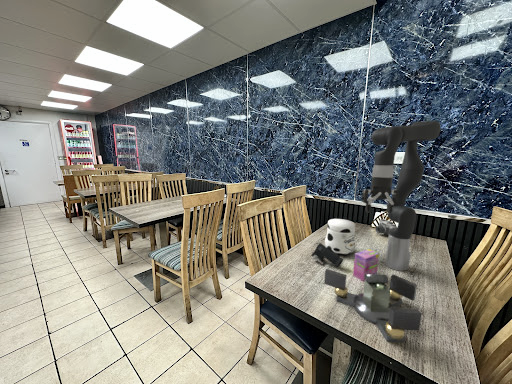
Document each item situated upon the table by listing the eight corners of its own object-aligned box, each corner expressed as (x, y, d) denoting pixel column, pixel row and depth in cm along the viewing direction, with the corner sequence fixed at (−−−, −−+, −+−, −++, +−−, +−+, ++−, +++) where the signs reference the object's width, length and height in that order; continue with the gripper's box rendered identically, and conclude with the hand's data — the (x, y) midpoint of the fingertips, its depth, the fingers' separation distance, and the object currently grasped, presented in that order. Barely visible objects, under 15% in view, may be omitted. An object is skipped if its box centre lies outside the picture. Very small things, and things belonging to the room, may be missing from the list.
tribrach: (394, 296, 83) (398, 265, 80) (437, 344, 61) (445, 304, 59) (332, 293, 84) (335, 262, 82) (354, 339, 63) (357, 300, 61)
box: (363, 281, 92) (365, 258, 90) (352, 275, 97) (354, 253, 95) (377, 275, 97) (379, 253, 95) (366, 269, 102) (368, 248, 100)
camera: (370, 229, 158) (371, 217, 156) (383, 229, 158) (384, 217, 156) (382, 237, 142) (384, 224, 141) (396, 237, 142) (398, 224, 141)
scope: (331, 274, 102) (341, 259, 99) (309, 255, 110) (318, 241, 107) (337, 270, 108) (346, 256, 105) (316, 252, 116) (324, 239, 113)
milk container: (356, 259, 113) (359, 229, 109) (324, 254, 118) (326, 225, 115) (352, 246, 129) (354, 219, 126) (324, 242, 134) (326, 217, 131)
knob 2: (390, 339, 61) (394, 315, 59) (382, 326, 65) (384, 304, 64) (421, 341, 60) (425, 317, 59) (410, 327, 65) (414, 305, 63)
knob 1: (384, 294, 80) (386, 276, 79) (389, 289, 83) (392, 272, 82) (411, 307, 73) (414, 287, 72) (415, 302, 76) (418, 283, 74)
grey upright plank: (348, 291, 82) (349, 273, 80) (346, 298, 78) (347, 279, 76) (326, 284, 87) (327, 267, 85) (323, 290, 83) (324, 272, 81)
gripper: (394, 175, 88) (390, 210, 90) (361, 175, 89) (357, 210, 91) (405, 176, 80) (400, 215, 83) (369, 176, 81) (365, 214, 84)
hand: (378, 212), depth 87 cm, fingers open, 8 cm apart
